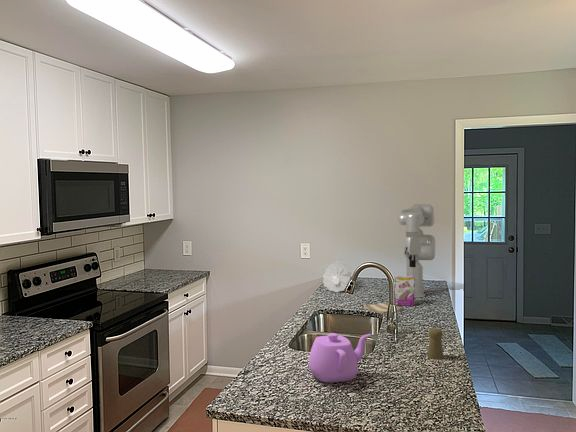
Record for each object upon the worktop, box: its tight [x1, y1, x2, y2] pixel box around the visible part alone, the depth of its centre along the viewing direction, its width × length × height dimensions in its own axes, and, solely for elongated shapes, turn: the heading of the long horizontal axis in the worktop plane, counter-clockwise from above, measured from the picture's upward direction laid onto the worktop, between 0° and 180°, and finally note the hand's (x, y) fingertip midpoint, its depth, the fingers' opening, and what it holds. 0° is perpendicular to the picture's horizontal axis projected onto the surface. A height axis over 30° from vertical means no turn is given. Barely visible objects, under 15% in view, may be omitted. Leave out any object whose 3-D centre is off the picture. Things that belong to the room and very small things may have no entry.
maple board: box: [363, 302, 404, 315], centre depth 262 cm, size 15×15×1 cm
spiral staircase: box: [322, 260, 353, 293], centre depth 314 cm, size 18×18×25 cm
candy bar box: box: [393, 275, 415, 307], centre depth 271 cm, size 11×5×16 cm, turn 84°
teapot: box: [308, 332, 372, 383], centre depth 169 cm, size 23×21×15 cm
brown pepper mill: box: [427, 328, 444, 360], centre depth 188 cm, size 6×6×11 cm
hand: (412, 266), depth 274 cm, fingers closed
